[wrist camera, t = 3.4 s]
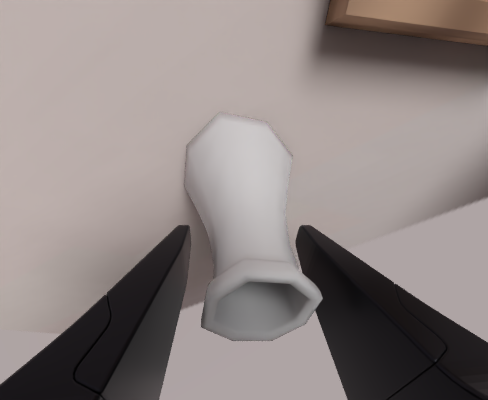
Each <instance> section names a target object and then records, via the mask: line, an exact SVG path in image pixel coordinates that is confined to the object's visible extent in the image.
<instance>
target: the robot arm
mask: <svg viewBox="0 0 488 400" xmlns="http://www.w3.org/2000/svg"><path fill="white" fill-rule="evenodd" d="M296 248H297V252H298V257H299V261H300V265H301V269H302V273H303V274H304V275H305V276H306V277H307V278H309V279H310V280H311V281H312V282H313V283H314V284H315V285H316V286H317V288H318V289H319V290H320V292H321V295H322V297H323V299H322V301H321V302H320V303H319V305H318V306H317V308H316V309H315V311H316V313H317V316H318V319H319V322H320V325H321V327H322V330H323V333H324V336H325V338H326V341H327V344H328V347H329V349H330V352H331V355H332V357H333V360H334V363H335V366H336V369H337V371H338V374H339V377H340V379H341V382H342V385H343V388H344V391H345V393H346V396H347V399H348V400H488V342H486V341H484V340H483V339H481V338H480V337H478V336H476V335H475V334H473V333H471V332H470V331H468V330H467V329H465V328H463V327H461V326H460V325H458V324H457V323H455V322H454V321H452V320H450V319H449V318H447V317H446V316H444V315H442V314H441V313H439V312H438V311H436V310H434V309H433V308H431V307H430V306H428V305H426V304H425V303H423V302H422V301H420V300H419V299H417V298H416V297H414V296H413V295H411V294H410V293H408V292H407V291H405V290H404V289H403V288H401V287H400V286H398V285H397V284H394V282H392V281H391V280H389V279H388V278H387V277H385V276H384V275H382V274H381V273H379V272H378V271H376V270H375V269H373V268H372V267H370V266H369V265H367V264H366V263H364V262H363V261H362V260H360V259H359V258H357V257H356V256H354V255H353V254H352V253H350V252H349V251H347V250H346V249H344V248H343V247H341V246H340V245H338V244H337V243H336V242H334V241H333V240H331V239H330V238H328V237H327V236H325V235H324V234H322V233H321V232H319V231H318V230H317V229H315V228H314V227H312V226H310V225H301V226H300V227H299V230H298V234H297V237H296ZM190 250H191V235H190V227H189V225H179V226H177V227H176V228H175V229H174V230H173V231H172V232H171V233H170V234H169V235H168V236H166V237H165V238H164V239H163V240H162V241H161V242H160V243H159V244H158V245H157V246H156V247H155V248H154V249H153V250H152V251H151V252H150V253H149V254H147V255H146V256H145V257H144V258H143V259H142V260H141V261H140V262H139V263H138V264H137V265H136V266H135V267H134V268H133V269H132V270H131V271H130V272H128V273H127V274H126V275H125V276H124V277H123V278H122V279H121V280H120V281H119V282H118V283H117V284H116V285H115V286H114V287H113V288H112V289H111V290H109V291H108V292H107V295H104V296H103V297H102V298H101V299H100V300H99V301H98V302H97V303H96V304H95V305H93V306H92V307H91V308H90V309H89V310H88V311H87V312H86V313H85V314H84V315H82V316H81V317H80V318H79V319H78V320H77V321H76V322H75V323H74V324H73V325H71V326H70V327H69V328H68V329H67V330H65V331H64V332H63V333H62V334H61V335H60V336H58V337H57V338H56V339H55V340H54V341H53V342H51V343H50V344H49V345H48V346H47V347H45V348H44V349H43V350H42V351H40V352H39V353H38V354H37V355H36V356H34V357H33V358H32V359H31V360H30V361H28V362H27V363H26V364H25V365H24V366H22V367H21V368H20V369H19V370H17V371H16V372H15V373H14V374H13V375H12V376H10V377H9V378H8V379H7V380H5V381H4V382H3V383H2V384H0V400H159V397H160V393H161V389H162V385H163V381H164V376H165V372H166V368H167V363H168V360H169V355H170V351H171V347H172V343H173V339H174V335H175V330H176V326H177V322H178V318H179V314H180V309H181V305H182V301H183V297H184V293H185V288H186V283H187V277H188V268H189V259H190Z"/></svg>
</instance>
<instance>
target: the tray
mask: <svg viewBox="0 0 488 400" xmlns="http://www.w3.org/2000/svg"><path fill="white" fill-rule="evenodd" d="M325 25H328V26H336V27H344V28H352V29H360V30H367V31H375V32H383V33H391V34H399V35H407V36H414V37H422V38H430V39H438V40H446V41H454V42H461V43H469V44H477V45H485V46H488V0H330V4H329V8H328V13H327V18H326V22H325Z"/></svg>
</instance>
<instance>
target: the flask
mask: <svg viewBox="0 0 488 400" xmlns="http://www.w3.org/2000/svg"><path fill="white" fill-rule="evenodd" d="M292 156H293V155H292V154H291V153H290V151H289V150H288V149H287V147H286V146H285V145H284V143H283V142H282V141H281V140H280V138H279V137H278V136H277V134H276V133H275V132H274V130H273V129H272V128H271V127H270V125H269V124H268V123H267V122H266V121H261V120H256V119H252V118H247V117H242V116H238V115H233V114H228V113H224V112H219V113H218V114H217V115H216V116H215V117H214V118H213V119H212V120H211V121H210V122H209V123H208V124H207V125H206V126H205V127H204V128H203V129H202V130H201V131H200V132H199V133H198V134H197V135H196V136H195V137H194V138H193V139H192V140H191V141H190V142H189V143H188V144H187V151H186V165H185V180H184V186H185V188H186V191H187V192H188V194H189V196H190V198H191V200H192V201H193V203H194V205H195V207H196V209H197V211H198V213H199V216H200V218H201V220H202V222H203V224H204V226H205V229H206V231H207V233H208V237H209V242H210V247H211V253H212V258H213V264H214V276H213V280H212V281H211V282H210V283H209V285H208V288H207V291H206V297H205V302H204V308H203V313H202V319H201V327H202V328H204V329H206V330H208V331H211V332H213V333H215V334H218V335H220V336H223V337H225V338H227V339H229V340H232V341H273V340H274V339H277V338H278V337H280V336H283V335H284V334H286V333H289V332H291V331H292V330H294V329H296V328H299V327H301V326H302V325H304V324H306V322H307V321H308V320H309V318H310V317H311V315H312V314H313V312H314V311H315V309H316V308H317V306H318V305H319V303H320V302H321V301H322V299H323V297H322V295H321V292H320V290H319V289H318V288H317V286H316V285H315V284H314V283H313V282H312V281H311V280H310V279H309V278H307V277H306V276H305V275H304V274H303V273H301V272H300V271H299V268H298V266H297V263H296V260H295V258H294V255H293V252H292V250H291V247H290V242H289V235H288V228H287V221H286V215H285V213H286V203H287V192H288V182H289V176H290V170H291V164H292Z"/></svg>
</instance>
